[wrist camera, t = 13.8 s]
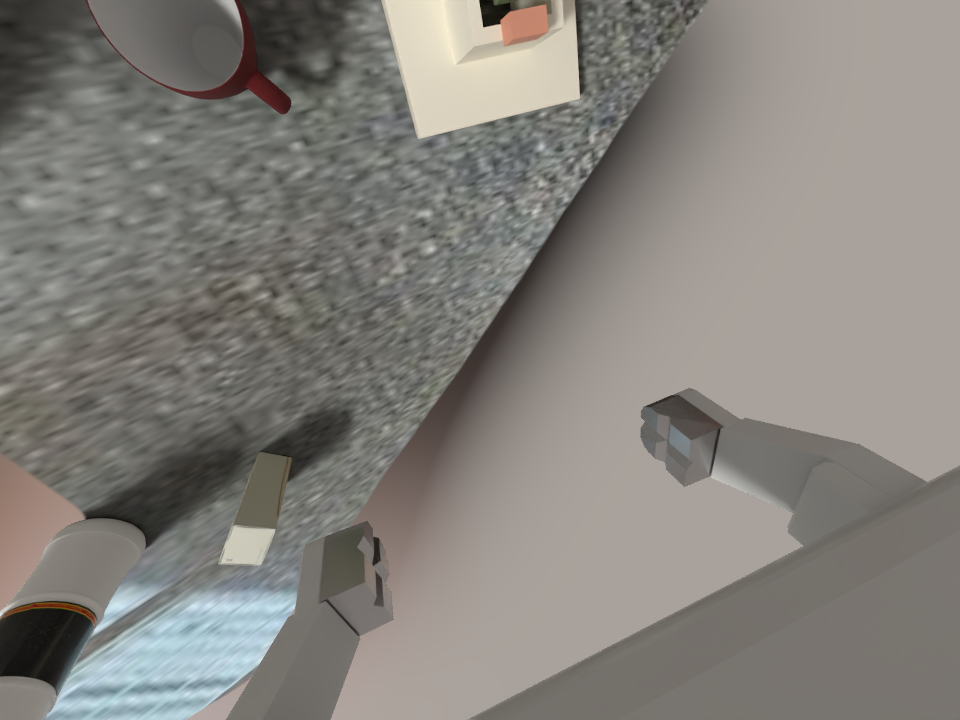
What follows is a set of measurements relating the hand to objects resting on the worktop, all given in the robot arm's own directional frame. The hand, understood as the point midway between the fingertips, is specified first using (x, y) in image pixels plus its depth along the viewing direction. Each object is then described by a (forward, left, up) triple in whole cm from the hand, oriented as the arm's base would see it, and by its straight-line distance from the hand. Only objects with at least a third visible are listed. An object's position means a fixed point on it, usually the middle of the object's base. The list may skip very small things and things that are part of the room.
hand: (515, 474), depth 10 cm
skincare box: (0, -36, -37) cm, 52 cm away
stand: (-3, +23, -37) cm, 44 cm away
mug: (-18, +6, -37) cm, 42 cm away
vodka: (-14, -53, -37) cm, 66 cm away
